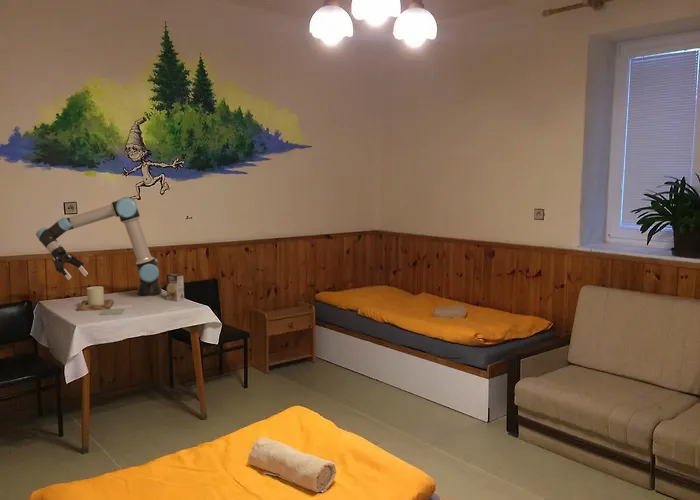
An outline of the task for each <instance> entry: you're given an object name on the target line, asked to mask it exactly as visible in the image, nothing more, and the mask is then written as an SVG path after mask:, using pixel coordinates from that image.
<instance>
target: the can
mask: <svg viewBox="0 0 700 500" xmlns="http://www.w3.org/2000/svg"><path fill="white" fill-rule="evenodd" d="M104 294H105V292H104V286H99V285H98V286H90V287H86V295H87V297H86V298H87V300H88V305H103V304H104V300H105V295H104Z"/></svg>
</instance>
